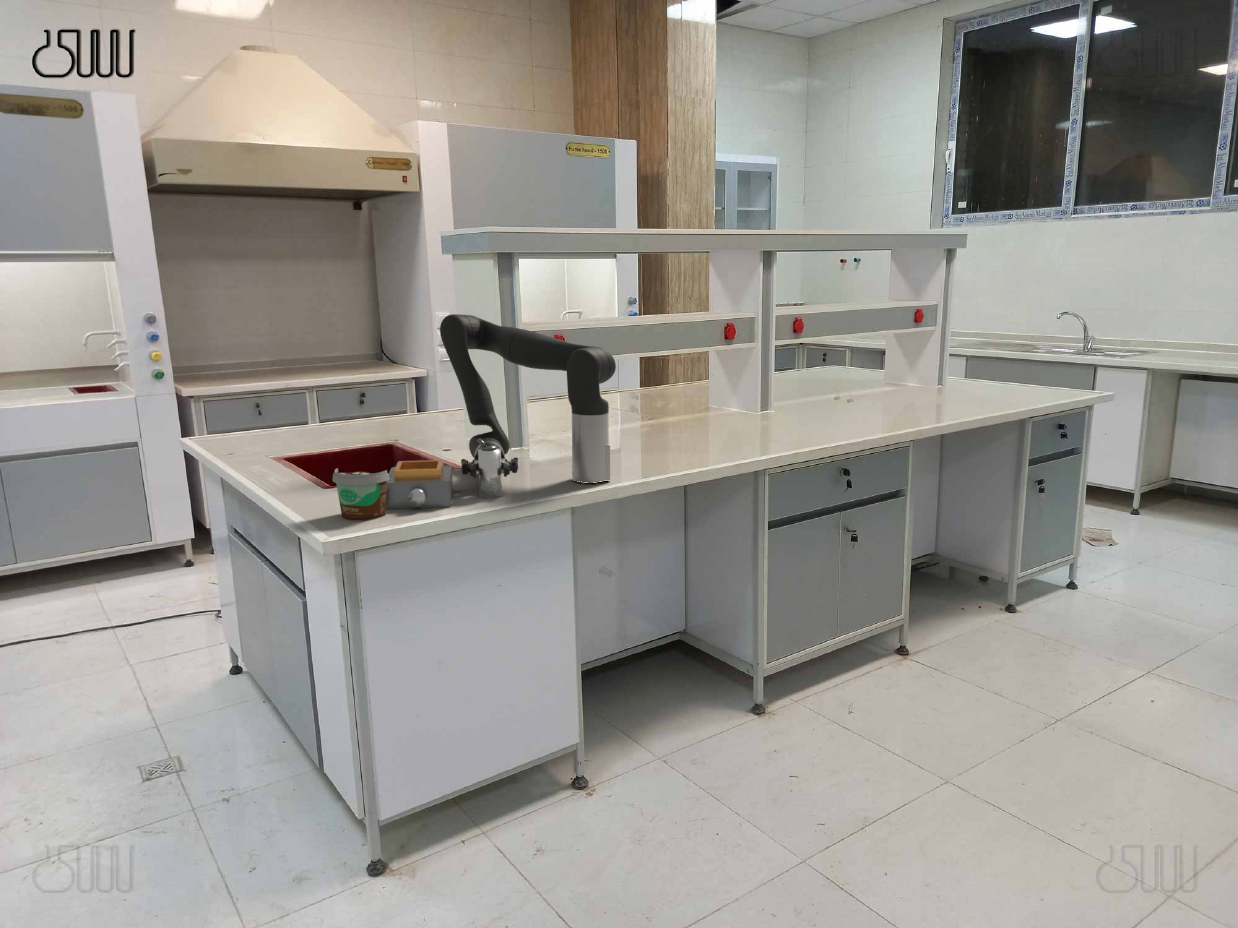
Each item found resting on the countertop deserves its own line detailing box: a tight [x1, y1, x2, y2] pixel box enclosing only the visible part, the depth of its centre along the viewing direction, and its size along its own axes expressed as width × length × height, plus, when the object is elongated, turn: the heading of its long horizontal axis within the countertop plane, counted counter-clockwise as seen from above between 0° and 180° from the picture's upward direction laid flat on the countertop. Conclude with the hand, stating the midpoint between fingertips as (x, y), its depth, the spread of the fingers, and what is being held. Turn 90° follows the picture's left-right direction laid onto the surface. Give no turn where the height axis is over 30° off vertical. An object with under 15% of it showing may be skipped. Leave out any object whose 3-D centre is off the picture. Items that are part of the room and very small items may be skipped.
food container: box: [332, 467, 390, 522], centre depth 181 cm, size 12×6×10 cm, turn 81°
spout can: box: [477, 438, 503, 499], centre depth 199 cm, size 5×5×14 cm
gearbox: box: [386, 459, 454, 510], centre depth 195 cm, size 14×19×8 cm
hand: (490, 472), depth 197 cm, fingers open, 6 cm apart
